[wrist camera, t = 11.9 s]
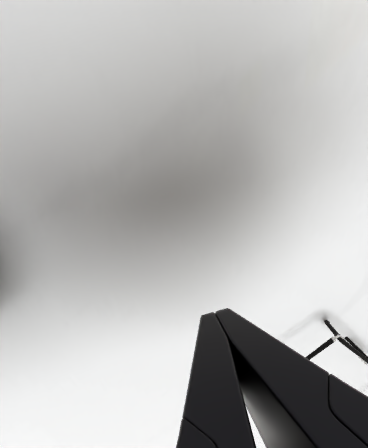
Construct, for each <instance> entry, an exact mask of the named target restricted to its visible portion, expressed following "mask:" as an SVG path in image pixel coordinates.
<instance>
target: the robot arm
mask: <svg viewBox="0 0 368 448" xmlns="http://www.w3.org/2000/svg"><path fill="white" fill-rule="evenodd" d="M245 405H246V406H245ZM246 407H247V409H248V411H249V413H250V415H251V417H252V419H253V421H254V423H255V425H256V427H257V429H258V431H259V433H260V436H261V438H262V440H263V442H264V444H265V446H266V448H368V396H366V395H364V394H363V393H361V392H359V391H358V390H356V389H354V388H353V387H351V386H350V385H348V384H346V383H345V382H343V381H342V380H340V379H338V378H337V377H335V376H334V375H332V374H330V375H329V373H328V372H327V371H325V370H324V369H322V368H321V367H319V366H317V365H316V364H314V363H313V362H311V361H310V360H308V359H307V358H305V357H303V356H302V355H300V354H299V353H297V352H296V351H294V350H293V349H291V348H289V347H288V346H286V345H285V344H283V343H282V342H280V341H279V340H277V339H276V338H274V337H272V336H271V335H269V334H268V333H266V332H265V331H263V330H262V329H260V328H258V327H257V326H255V325H254V324H252V323H251V322H249V321H248V320H246V319H245V318H243V317H241V316H240V315H238V314H237V313H235V312H234V311H232V310H231V309H228V308H226V309H223V310H219V311H216V313H213V312H212V313H208V314H205V315H202V316H201V318H200V324H199V329H198V335H197V340H196V346H195V351H194V357H193V362H192V368H191V373H190V379H189V384H188V390H187V395H186V401H185V406H184V412H183V419H182V421H181V426H180V431H179V437H178V441H177V446H176V448H256V445H255V441H254V437H253V433H252V429H251V426H250V422H249V418H248V414H247V410H246Z"/></svg>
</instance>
